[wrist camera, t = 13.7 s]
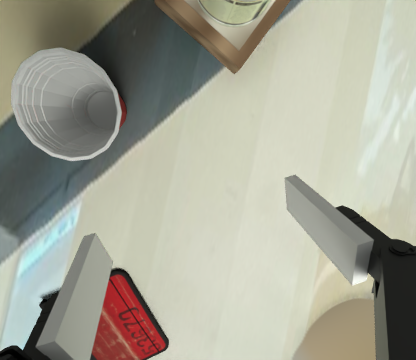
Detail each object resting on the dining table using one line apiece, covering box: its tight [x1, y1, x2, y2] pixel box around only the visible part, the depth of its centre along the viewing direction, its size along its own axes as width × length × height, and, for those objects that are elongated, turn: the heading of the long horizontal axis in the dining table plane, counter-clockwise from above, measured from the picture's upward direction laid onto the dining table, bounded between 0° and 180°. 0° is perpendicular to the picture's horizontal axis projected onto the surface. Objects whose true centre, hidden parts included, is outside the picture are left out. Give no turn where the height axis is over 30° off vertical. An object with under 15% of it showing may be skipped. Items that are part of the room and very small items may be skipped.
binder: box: [39, 269, 169, 360], centre depth 44 cm, size 16×2×21 cm
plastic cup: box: [11, 48, 127, 161], centre depth 28 cm, size 11×11×12 cm
